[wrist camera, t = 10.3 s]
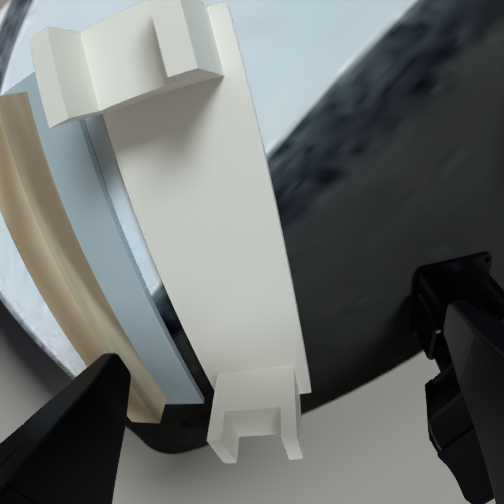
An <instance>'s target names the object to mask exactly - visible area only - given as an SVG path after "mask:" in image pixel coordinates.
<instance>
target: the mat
mask: <svg viewBox="0 0 504 504" xmlns="http://www.w3.org/2000/svg"><path fill="white" fill-rule="evenodd" d="M26 91H27V93H28V97H29V101H30V105H31V109H32V113H33V116H34V120H35V124H36V127H37V131H38V134H39V137H40V141H41V144H42V147H43V150H44V153H45V156H46V159H47V162H48V165H49V168H50V171H51V174H52V177H53V180H54V183H55V185H56V188H57V191H58V193H59V196H60V198H61V201H62V204H63V206H64V209H65V211H66V214H67V216H68V218H69V221H70V223H71V226H72V228H73V230H74V233H75V235H76V237H77V239H78V242H79V244H80V246H81V248H82V251H83V253H84V255H85V257H86V259H87V261H88V263H89V265H90V268H91V270H92V272H93V274H94V276H95V278H96V280H97V282H98V284H99V286H100V288H101V290H102V291H103V293H104V295H105V297H106V299H107V301H108V303H109V305H110V307H111V308H112V310H113V312H114V314H115V316H116V318H117V319H118V321H119V323H120V325H121V326H122V328H123V330H124V332H125V333H126V335H127V337H128V338H129V340H130V342H131V343H132V345H133V347H134V348H135V350H136V352H137V353H138V355H139V357H140V358H141V360H142V361H143V363H144V365H145V366H146V368H147V369H148V371H149V372H150V374H151V375H152V377H153V378H154V380H155V381H156V383H157V384H158V386H159V387H160V389H161V390H162V392H163V393H164V395H165V396H166V398H167V399H166V402H165V404H201V403H204V400H205V398H204V396H203V395H202V393H201V391H200V389H199V388H198V386H197V384H196V382H195V381H194V379H193V377H192V375H191V373H190V372H189V370H188V368H187V366H186V364H185V362H184V361H183V359H182V357H181V355H180V353H179V351H178V349H177V347H176V345H175V344H174V342H173V340H172V338H171V336H170V334H169V332H168V330H167V328H166V326H165V324H164V322H163V320H162V318H161V316H160V314H159V312H158V309H157V307H156V305H155V303H154V301H153V299H152V297H151V295H150V293H149V290H148V288H147V286H146V284H145V282H144V279H143V277H142V275H141V273H140V270H139V268H138V266H137V264H136V261H135V259H134V257H133V254H132V252H131V250H130V247H129V245H128V242H127V240H126V238H125V235H124V233H123V230H122V228H121V225H120V223H119V220H118V217H117V215H116V212H115V210H114V207H113V204H112V202H111V199H110V196H109V194H108V191H107V188H106V185H105V182H104V180H103V177H102V174H101V171H100V168H99V165H98V162H97V159H96V156H95V153H94V150H93V147H92V144H91V140H90V137H89V134H88V131H87V127H86V124H85V120H84V119H80V120H77V121H73V122H69V123H66V124H62V125H59V126H56V127H52V128H49V126H48V122H47V119H46V115H45V111H44V108H43V104H42V100H41V96H40V92H39V87H38V83H37V79H36V74H35V72H34V73H32V74H31V75H29V76H28V77H26V78H25V79H23V80H22V81H21V82H19V83H18V84H16V85H15V86H14V87H12V88H11V89H9V90H8V91H7V92H6V93H4V94H3V95H9V94H14V93H20V92H26ZM3 95H2V96H3Z"/></svg>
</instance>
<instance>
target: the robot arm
mask: <svg viewBox="0 0 504 504" xmlns="http://www.w3.org/2000/svg"><path fill="white" fill-rule="evenodd" d="M491 261H492V256H491V254H490V253H489V252H487V251H485V252H481V253H477V254H473V255H468V256H464V257H460V258H455V259H451V260H447V261H442V262H438V263H433V264H428V265H424V266H422V267H420V268H419V270H418V274H417V288H416V294H415V295H414V297H413V306H412V316H411V323H412V326H413V327H412V332H413V334H414V336H416V337H418V338H419V341H420V343H421V345H422V347H423V349H424V352H425V354H426V356H427V358H428V359H430V360H432V359H435V360H436V363H437V365H438V367H439V370H440V373H439V374H438V375H437V376H436V377H435V378H434V379H433V380H430V381H429V382H428V383H426V384H425V392H426V403H427V419H428V432H429V439H430V441H431V442H432V444H433V446H434V448H435V449H436V451H437V452H438V454H437V455H438V457H439V458H440V459H441V460H442V461H443V462H444V463H445V464H446V465H447V466H448V468H449V469H450V470H451V472H452V473H453V475H454V476H455V478H456V480H457V482H458V484H459V486H460V489H461V491H462V493H463V495H464V498H465V499H466V500H467V501H468V502H470V503H471V504H485V503H487V502H489V501H491V500H493V499H494V498H495V502H496V504H504V291H503V290H502V288H501V287H500V286H499V285H498V284H497V283H496V281H495V280H494V279H493V278H492V277H491V276H490V274H489V272H490V267H491ZM426 271H427V272H426ZM424 272H426V273H425V274H424V275H423V273H424ZM130 384H131V374H130V371H129V369H128V368H127V366H126V365H125V364H124V362H123V361H122V359H121V357H120V356H119V355H118V354H117V353H104V354H102V355H101V356H100V357H99V358H98V359H96V360H95V361H94V362H93V363H92V364H91V365H90V366H88V367H87V368H86V369H85V370H84V371H83V372H81V373H80V374H79V375H78V376H77V377H76V378H75V379H73V380H72V381H71V382H70V383H69V384H68V385H67V386H65V387H64V388H63V389H62V390H61V391H60V392H59V393H57V394H56V395H55V396H54V397H53V398H52V399H51V400H49V401H48V402H47V403H46V404H45V405H44V406H43V407H42V408H40V409H39V410H38V411H37V412H36V413H35V414H34V415H33V416H31V417H30V418H29V419H28V420H27V421H26V422H25V423H24V425H21V426H20V427H19V428H18V429H17V430H16V431H15V432H13V433H12V434H11V435H10V436H9V437H8V438H6V439H5V440H4V441H3V442H2V443H0V504H112V500H113V493H114V486H115V480H116V474H117V469H118V463H119V457H120V452H121V447H122V441H123V436H124V431H125V426H126V419H127V410H128V401H129V392H130Z"/></svg>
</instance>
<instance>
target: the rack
mask: <svg viewBox="0 0 504 504" xmlns="http://www.w3.org/2000/svg"><path fill="white" fill-rule="evenodd" d="M29 43H30V49H31V54H32V60H33V65H34V70H35V74H36V79H37V83H38V87H39V92H40V96H41V100H42V104H43V108H44V111H45V115H46V119H47V122H48V126H49V128H52V127H56V126H59V125H62V124H66V123H69V122H73V121H77V120H80V119H84V118H88V117H92V116H96V115H100V114H103V118H104V121H105V125H106V128H107V131H108V135H109V138H110V141H111V144H112V148H113V151H114V154H115V157H116V160H117V163H118V166H119V169H120V172H121V175H122V178H123V181H124V184H125V187H126V190H127V192H128V195H129V198H130V201H131V203H132V206H133V209H134V212H135V214H136V217H137V220H138V222H139V225H140V228H141V230H142V233H143V235H144V238H145V240H146V243H147V246H148V248H149V251H150V253H151V255H152V258H153V260H154V263H155V265H156V268H157V270H158V272H159V275H160V277H161V279H162V282H163V284H164V286H165V289H166V291H167V293H168V296H169V298H170V300H171V302H172V305H173V307H174V309H175V311H176V313H177V316H178V318H179V320H180V322H181V324H182V326H183V329H184V331H185V333H186V335H187V337H188V339H189V341H190V343H191V345H192V347H193V350H194V352H195V354H196V356H197V358H198V360H199V362H200V364H201V366H202V368H203V370H204V372H205V374H206V375H207V377H208V379H209V381H210V383H211V385H212V387H213V389H214V391H215V392H214V399H213V405H212V411H211V417H210V424H209V430H208V436H207V442H208V443H209V444H210V446H211V447H212V448H213V450H214V451H215V452H216V453H217V455H218V456H219V457H220V459H221V460H222V461H223V462H224V463H237V453H238V443H239V437H242V436H259V435H271V434H281V438H282V441H283V444H284V446H285V449H286V452H287V454H288V457H289V459H290V460H294V459H303V445H302V425H301V407H300V394H304V393H311V383H310V376H309V370H308V365H307V359H306V353H305V347H304V342H303V336H302V331H301V325H300V320H299V314H298V309H297V304H296V298H295V293H294V288H293V283H292V277H291V272H290V267H289V262H288V257H287V252H286V247H285V242H284V237H283V232H282V228H281V223H280V218H279V213H278V209H277V204H276V199H275V195H274V190H273V185H272V181H271V176H270V172H269V167H268V163H267V158H266V154H265V150H264V145H263V141H262V136H261V132H260V128H259V124H258V119H257V115H256V111H255V107H254V103H253V98H252V94H251V90H250V86H249V82H248V78H247V74H246V70H245V66H244V62H243V58H242V54H241V51H240V47H239V43H238V39H237V35H236V31H235V28H234V24H233V20H232V16H231V13H230V9H229V6H228V4H227V2H223V3H219V4H216V5H212V6H208V7H206V6H205V4H204V3H203V2H202V1H201V0H147V1H145V2H142V3H140V4H137V5H135V6H132V7H130V8H128V9H126V10H123V11H121V12H119V13H117V14H114V15H112V16H110V17H108V18H106V19H104V20H102V21H100V22H98V23H96V24H94V25H92V26H90V27H88V28H86V29H84V30H83V31H81V32H80V31H75V30H69V29H63V28H56V27H49V26H47V27H46V28H44V29H43V30H41V31H40V32H38V33H37V34H35V35H34V36H32V37H31V38H30V39H29Z"/></svg>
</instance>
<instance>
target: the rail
mask: <svg viewBox="0 0 504 504" xmlns="http://www.w3.org/2000/svg"><path fill="white" fill-rule="evenodd" d="M0 211H1V213H2V216H3V218H4V221H5V223H6V225H7V228H8V230H9V232H10V234H11V237H12V239H13V241H14V243H15V245H16V248H17V250H18V252H19V254H20V256H21V258H22V260H23V262H24V264H25V266H26V268H27V270H28V272H29V274H30V275H31V277H32V279H33V281H34V283H35V285H36V287H37V288H38V290H39V292H40V294H41V296H42V297H43V299H44V301H45V302H46V304H47V306H48V308H49V309H50V311H51V313H52V314H53V316H54V317H55V319H56V321H57V322H58V324H59V325H60V327H61V329H62V330H63V332H64V333H65V335H66V336H67V338H68V339H69V341H70V342H71V344H72V345H73V347H74V348H75V350H76V351H77V352H78V354H79V355H80V357H81V358H82V360H83V361H84V362H85V364H86V365H87V366H90V365H91V364H92V363H93V362H94V361H95V360H96V359H98V358H99V357H100V356H101V355H102V354H104V353H117V354H118V355H119V356H120V357H121V359H122V361H123V362H124V364H125V365H126V366H127V368H128V369H129V371H130V374H131V384H130V392H129V401H128V410H127V416H128V418H129V419H130V420H131V421H132V422H143V423H160V421H161V417H162V413H163V410H164V406H165V402H166V399H167V398H166V396H165V395H164V393H163V392H162V390H161V389H160V387H159V386H158V384H157V383H156V381H155V380H154V378H153V377H152V375H151V374H150V372H149V371H148V369H147V368H146V366H145V365H144V363H143V361H142V360H141V358H140V357H139V355H138V353H137V352H136V350H135V348H134V347H133V345H132V343H131V342H130V340H129V338H128V337H127V335H126V333H125V332H124V330H123V328H122V326H121V325H120V323H119V321H118V319H117V318H116V316H115V314H114V312H113V310H112V308H111V307H110V305H109V303H108V301H107V299H106V297H105V295H104V293H103V291H102V290H101V288H100V286H99V284H98V282H97V280H96V278H95V276H94V274H93V272H92V270H91V268H90V265H89V263H88V261H87V259H86V257H85V255H84V253H83V251H82V248H81V246H80V244H79V242H78V239H77V237H76V235H75V233H74V230H73V228H72V226H71V223H70V221H69V218H68V216H67V214H66V211H65V209H64V206H63V204H62V201H61V198H60V196H59V193H58V191H57V188H56V185H55V183H54V180H53V177H52V174H51V171H50V168H49V165H48V162H47V159H46V156H45V153H44V150H43V147H42V144H41V141H40V137H39V134H38V131H37V127H36V124H35V120H34V116H33V113H32V109H31V105H30V101H29V97H28V93H27V91H26V92H20V93H14V94H9V95H3V96H0Z"/></svg>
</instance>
